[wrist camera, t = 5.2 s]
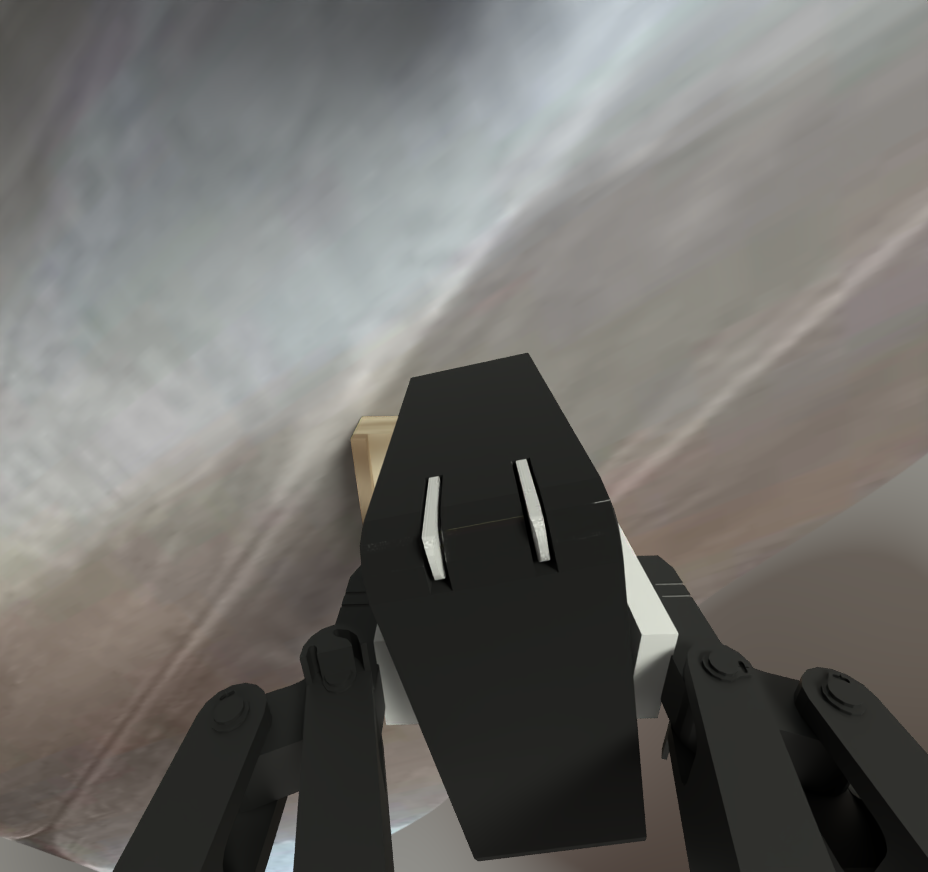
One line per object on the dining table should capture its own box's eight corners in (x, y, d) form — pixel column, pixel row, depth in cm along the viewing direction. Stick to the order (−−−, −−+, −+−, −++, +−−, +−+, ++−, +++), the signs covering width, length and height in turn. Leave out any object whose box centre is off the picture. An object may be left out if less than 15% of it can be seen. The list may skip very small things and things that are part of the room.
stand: (361, 416, 33) (350, 439, 29) (496, 414, 33) (500, 436, 29) (380, 562, 39) (372, 595, 35) (493, 560, 39) (497, 592, 35)
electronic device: (469, 581, 20) (478, 877, 11) (410, 370, 16) (344, 560, 7) (561, 565, 19) (652, 856, 10) (527, 345, 15) (627, 509, 6)
